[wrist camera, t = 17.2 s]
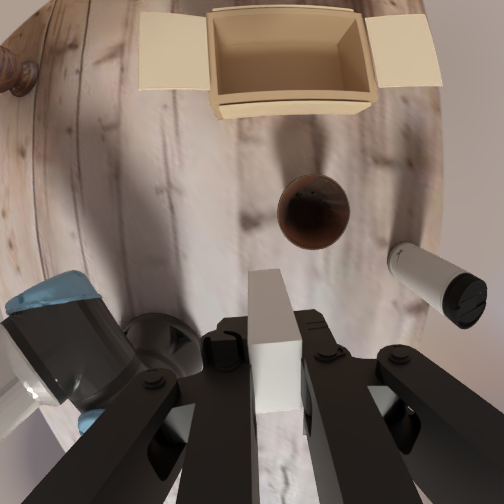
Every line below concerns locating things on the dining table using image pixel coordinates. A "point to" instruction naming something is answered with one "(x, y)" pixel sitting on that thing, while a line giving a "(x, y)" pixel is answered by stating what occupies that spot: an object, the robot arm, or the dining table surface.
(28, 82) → the mortar and pestle
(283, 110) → the carton
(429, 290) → the travel mug
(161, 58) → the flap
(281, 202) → the cup
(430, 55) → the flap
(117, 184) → the dining table surface
